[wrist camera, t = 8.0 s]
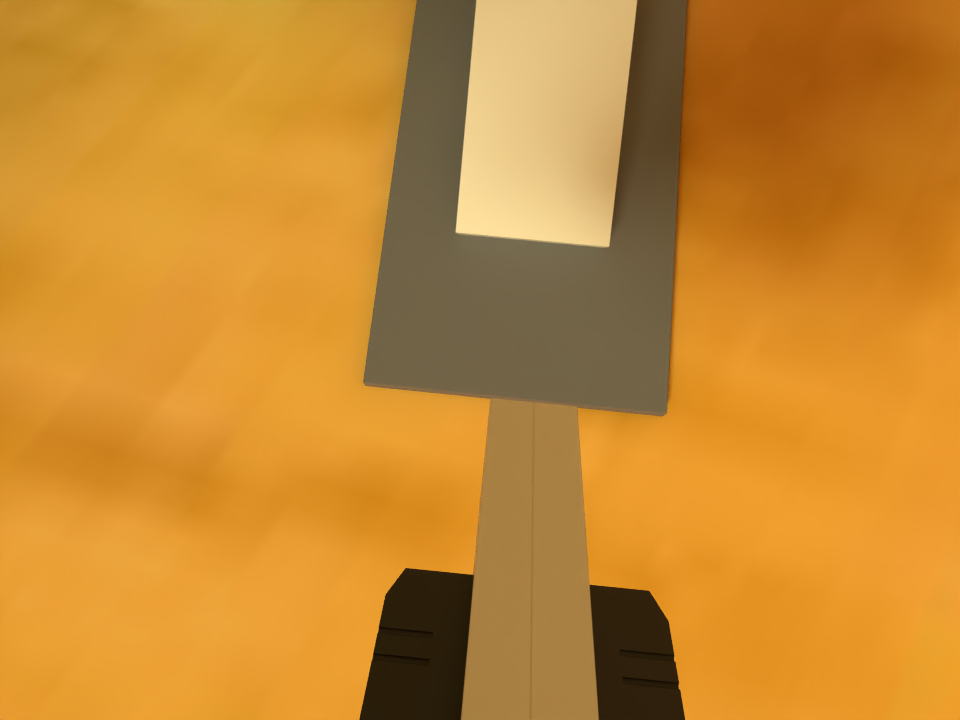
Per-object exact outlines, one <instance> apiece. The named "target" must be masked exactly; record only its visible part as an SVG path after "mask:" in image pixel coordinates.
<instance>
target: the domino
mask: <svg viewBox="0 0 960 720" xmlns="http://www.w3.org/2000/svg"><path fill="white" fill-rule="evenodd" d="M636 7H637V0H476V10H475V21H474V33H473V44H472V55H471V66H470V77H469V88H468V99H467V111H466V122H465V133H464V144H463V155H462V166H461V177H460V189H459V200H458V211H457V222H456V233H457V234H463V235H474V236H484V237H495V238H505V239H516V240H526V241H537V242H548V243H558V244H569V245H579V246H590V247H600V248H605V247H609V244H610V235H611V226H612V218H613V209H614V200H615V191H616V183H617V174H618V165H619V156H620V147H621V139H622V130H623V121H624V112H625V103H626V95H627V86H628V77H629V68H630V59H631V51H632V42H633V33H634V24H635V16H636Z"/></svg>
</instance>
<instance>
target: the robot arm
mask: <svg viewBox="0 0 960 720" xmlns="http://www.w3.org/2000/svg"><path fill="white" fill-rule="evenodd" d="M678 685H679V681H678V675H677V669H676V663H675V662H674V651H673V645H672V639H671V633H670V627H669V621H668V620H667V618H666V617H665V615H664V614H663V612H662V610H661V609H660V607H659V606H658V604H657V602H656V601H655V599H654V598H653V596H652V595H651V593H650V591H645V590H635V589H625V588H616V587H606V586H596V585H589V571H588V557H587V542H586V528H585V513H584V499H583V484H582V470H581V455H580V440H579V426H578V411H577V407H576V406H566V405H556V404H546V403H536V402H526V401H516V400H506V399H495V398H491V399H490V409H489V419H488V428H487V438H486V448H485V458H484V468H483V477H482V487H481V497H480V507H479V517H478V528H477V538H476V549H475V560H474V571H473V575H468V574H458V573H449V572H439V571H429V570H419V569H409V568H406V569H405V570H404V571H403V572H402V574H401V575H400V576H399V578H398V579H397V580H396V582H395V583H394V584H393V586H392V587H391V588H390V590H389V591H388V592H387V594H386V596H385V600H384V605H383V610H382V615H381V620H380V624H379V631H378V634H377V639H376V643H375V648H374V653H373V660H372V662H371V667H370V672H369V677H368V682H367V686H366V691H365V696H364V701H363V705H362V710H361V715H360V720H685V716H684V710H683V704H682V698H681V692H680V690H679V687H678Z"/></svg>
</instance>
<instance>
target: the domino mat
mask: <svg viewBox="0 0 960 720" xmlns="http://www.w3.org/2000/svg"><path fill="white" fill-rule="evenodd" d="M475 10H476V0H417V4H416V11H415V19H414V26H413V33H412V40H411V47H410V54H409V61H408V68H407V75H406V82H405V89H404V97H403V104H402V111H401V118H400V125H399V132H398V139H397V146H396V153H395V160H394V168H393V175H392V182H391V189H390V196H389V203H388V210H387V217H386V224H385V231H384V239H383V246H382V253H381V260H380V267H379V274H378V281H377V288H376V295H375V302H374V309H373V317H372V324H371V331H370V338H369V345H368V352H367V359H366V366H365V373H364V380H363V382H364V384H365V385H366V386H373V387H383V388H393V389H402V390H412V391H422V392H431V393H441V394H451V395H461V396H470V397H480V398H490V399H491V398H495V399H506V400H516V401H526V402H536V403H546V404H556V405H566V406H576V407H577V408H587V409H597V410H607V411H616V412H626V413H636V414H645V415H655V416H664V415H665V414H666V413H667V398H668V377H669V357H670V337H671V317H672V297H673V276H674V256H675V236H676V216H677V196H678V175H679V155H680V135H681V115H682V95H683V74H684V54H685V34H686V14H687V0H637V7H636V16H635V24H634V33H633V42H632V51H631V59H630V68H629V77H628V86H627V95H626V103H625V112H624V121H623V130H622V139H621V147H620V156H619V165H618V174H617V183H616V191H615V200H614V209H613V218H612V226H611V235H610V244H609V247H605V248H600V247H590V246H579V245H569V244H558V243H548V242H537V241H526V240H516V239H505V238H495V237H484V236H474V235H463V234H457V233H456V222H457V211H458V200H459V189H460V177H461V166H462V155H463V144H464V133H465V122H466V111H467V99H468V88H469V77H470V66H471V55H472V44H473V33H474V21H475Z"/></svg>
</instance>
